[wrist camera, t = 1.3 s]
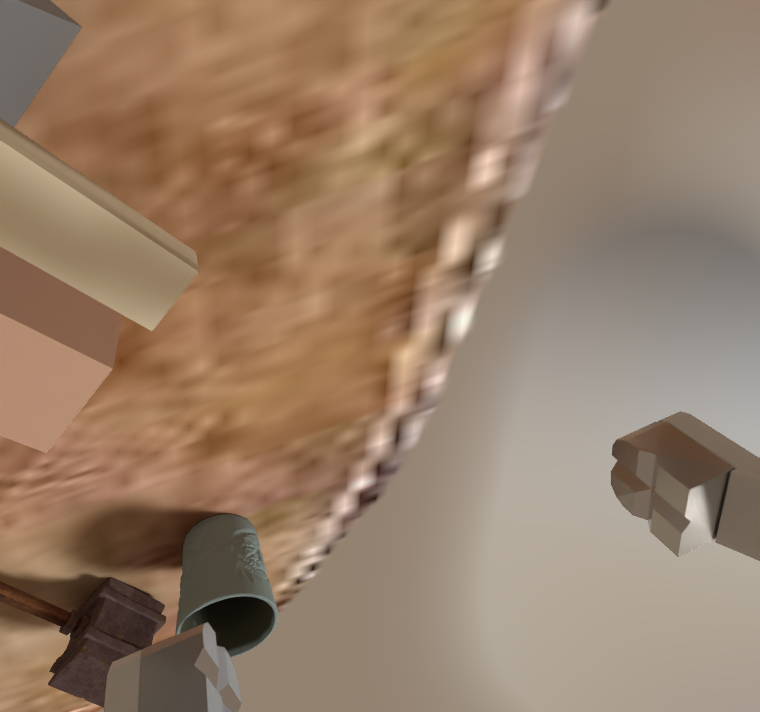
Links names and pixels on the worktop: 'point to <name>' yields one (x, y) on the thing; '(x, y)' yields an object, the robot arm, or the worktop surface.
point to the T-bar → (87, 234)
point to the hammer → (95, 633)
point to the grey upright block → (29, 50)
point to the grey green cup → (226, 584)
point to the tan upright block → (48, 352)
